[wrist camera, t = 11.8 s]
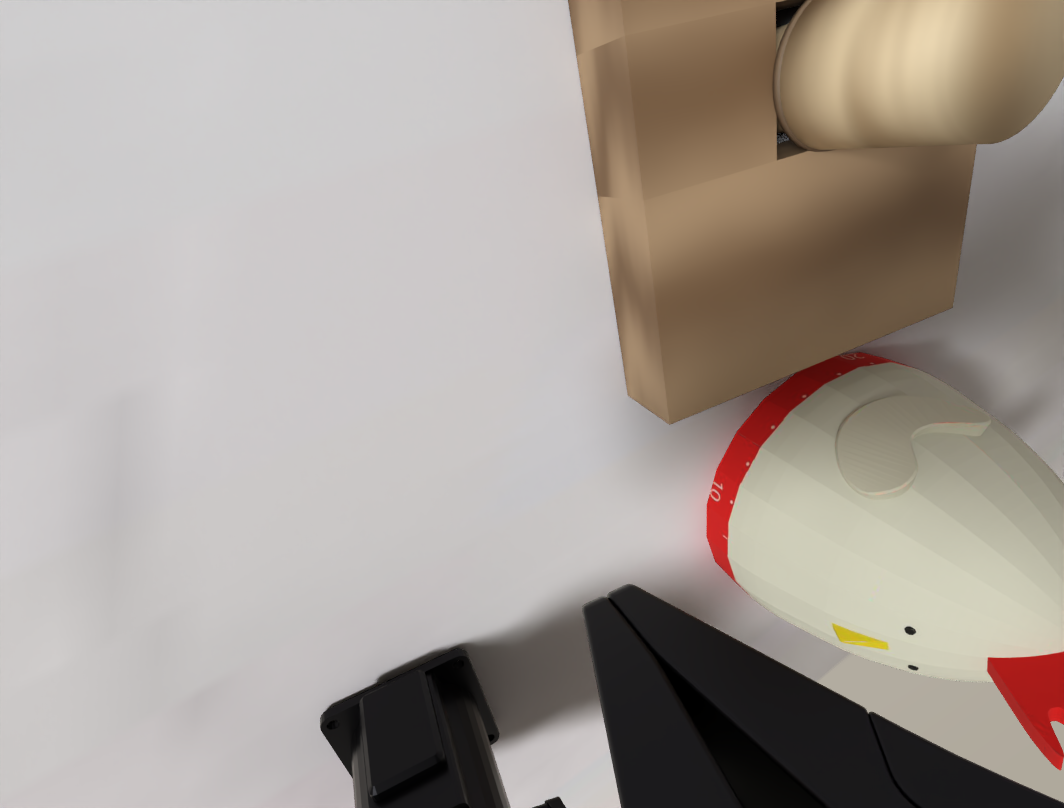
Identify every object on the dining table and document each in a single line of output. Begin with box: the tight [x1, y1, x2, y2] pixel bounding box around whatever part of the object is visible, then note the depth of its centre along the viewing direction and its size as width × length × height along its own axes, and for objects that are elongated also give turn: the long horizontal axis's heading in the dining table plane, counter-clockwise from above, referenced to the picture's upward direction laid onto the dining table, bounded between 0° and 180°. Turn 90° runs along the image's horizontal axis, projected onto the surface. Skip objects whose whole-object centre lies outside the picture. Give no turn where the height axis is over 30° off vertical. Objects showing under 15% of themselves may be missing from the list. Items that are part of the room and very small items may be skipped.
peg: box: [772, 0, 1064, 152], centre depth 16 cm, size 4×4×8 cm
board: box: [568, 0, 977, 425], centre depth 19 cm, size 16×14×3 cm
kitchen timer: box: [707, 352, 1064, 770], centre depth 23 cm, size 14×14×15 cm
